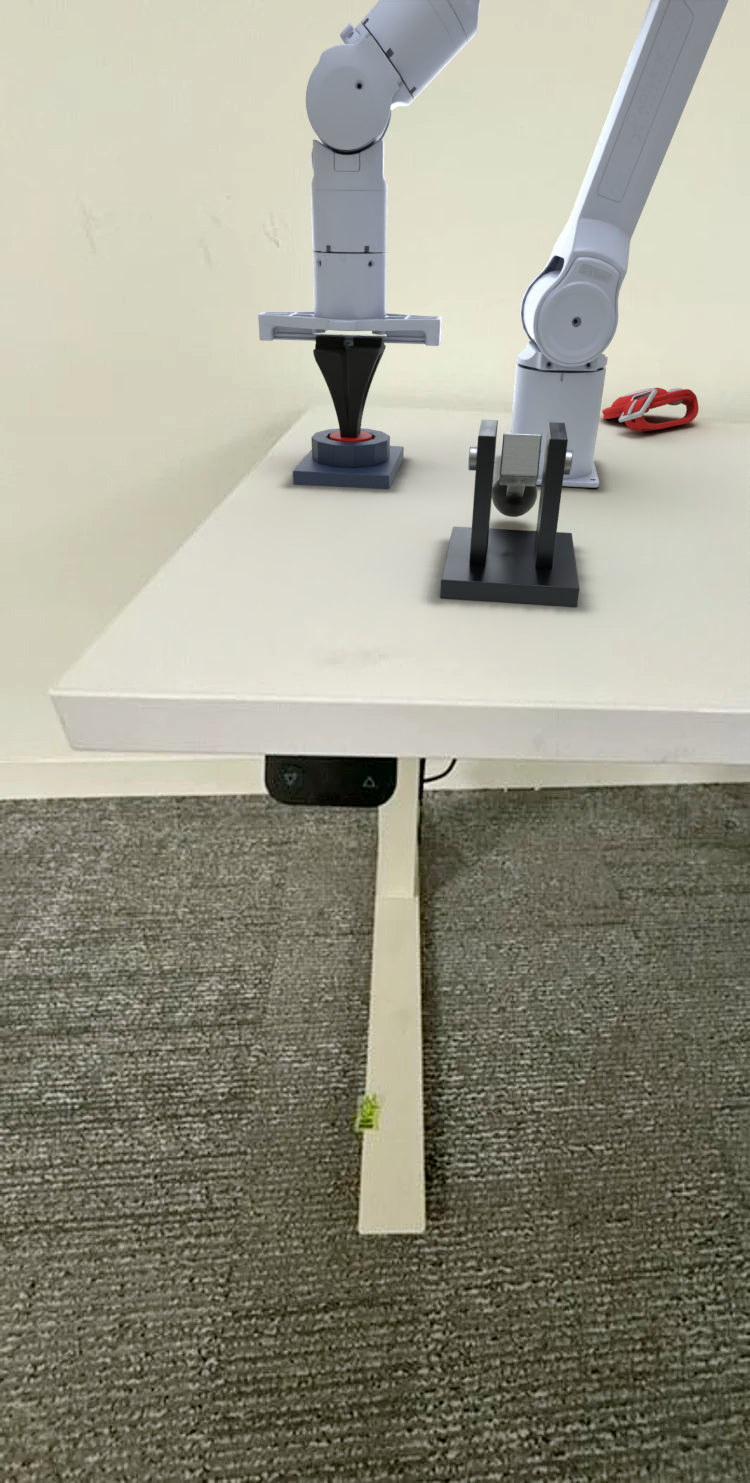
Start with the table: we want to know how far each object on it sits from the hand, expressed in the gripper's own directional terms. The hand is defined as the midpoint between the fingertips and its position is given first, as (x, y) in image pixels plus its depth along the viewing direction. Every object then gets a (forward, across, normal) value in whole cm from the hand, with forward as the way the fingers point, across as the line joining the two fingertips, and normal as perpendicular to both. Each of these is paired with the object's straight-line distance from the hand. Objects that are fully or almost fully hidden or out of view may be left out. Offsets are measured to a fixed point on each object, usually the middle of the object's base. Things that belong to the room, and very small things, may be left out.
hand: (350, 435), depth 74 cm
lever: (0, +14, -18) cm, 23 cm away
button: (+2, 0, 0) cm, 2 cm away
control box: (+3, 0, 0) cm, 3 cm away
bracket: (+3, +14, -22) cm, 26 cm away
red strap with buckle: (+3, +27, +24) cm, 36 cm away
